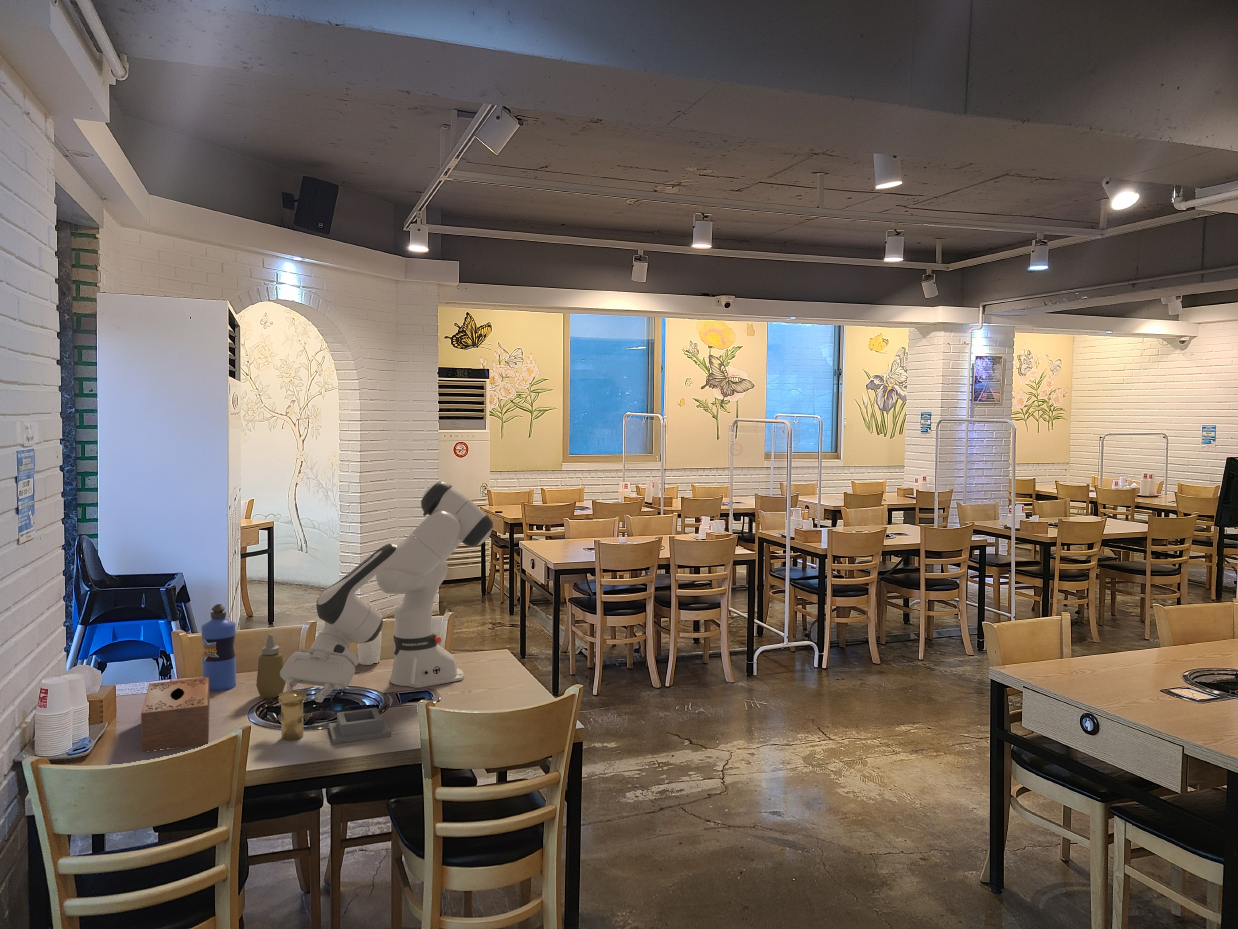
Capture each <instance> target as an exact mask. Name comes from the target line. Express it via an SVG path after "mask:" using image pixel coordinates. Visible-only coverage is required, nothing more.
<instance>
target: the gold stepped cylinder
mask: <svg viewBox="0 0 1238 929" xmlns="http://www.w3.org/2000/svg"><path fill="white" fill-rule="evenodd" d="M286 691H287V690H286ZM286 691H283V693H281V694H279V697H278V703H279V704H280V706H281V707H280V709H281V710H280V711H281V712H280V717H281V719H280V720H281V721H280V722H281V724H280V725H281V727H280V728H281V733H280V734H281V740H282V741H285V740H286V741H285V742H293V741H297V740H301V739H302V738H304V701H306V699H307V698H306V691H304V690H300V689H299V690H296V689H295V690H294V689H293V691H287V692H286Z"/></svg>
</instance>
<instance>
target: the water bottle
mask: <svg viewBox="0 0 1238 929" xmlns="http://www.w3.org/2000/svg"><path fill="white" fill-rule="evenodd" d="M225 609H226V607H225V606H224V605H223V604H222V603H220V604H219V603H218V604H217V603H216V604H214V605H213V607H212V608H211V612H210V620H209V621H208V622H206V623H203V624H202V625H201V629H200V630H201V638H202V645H203V654H202V678H204V677H209V691H210V692H209V693H213V692H214V693H217V692H225V691H229V690H232V689H234V688H236V687H237V663H236V660H237V659H236V653H235V642H236V640H235V638H236V634H237V629H236V628H237V626H236V624H237V622H235V621H233V620H230V619H227V611H226V610H225Z"/></svg>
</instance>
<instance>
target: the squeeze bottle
mask: <svg viewBox="0 0 1238 929" xmlns="http://www.w3.org/2000/svg"><path fill="white" fill-rule="evenodd" d="M261 652H262V653H261V655H259V656H258V662H257V664H258V665H257V674H256V675H257V676H256V685H255V686H256V688H257V691H258V694H259V697H260V698H261V699H273V698H272V697H276V698H278V697H277V696H279V694H281V693H283V692H284V689H285V686H286V685H287V682H286V681H285V680H283V679H282V678H281V676H280V671H281V669H282V668H283V666H284V665H285V663H284V658H283V656H284V655H283V654H282V653H280V646H279V645H276V642H275V638H274V635H273V634H268V635H267V641H266V644H265V646H263V647H262V648H261Z"/></svg>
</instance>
